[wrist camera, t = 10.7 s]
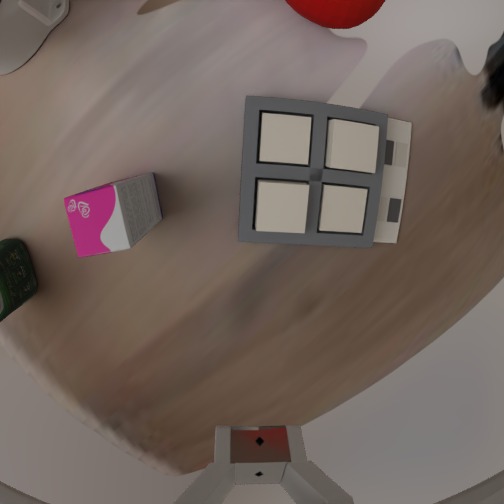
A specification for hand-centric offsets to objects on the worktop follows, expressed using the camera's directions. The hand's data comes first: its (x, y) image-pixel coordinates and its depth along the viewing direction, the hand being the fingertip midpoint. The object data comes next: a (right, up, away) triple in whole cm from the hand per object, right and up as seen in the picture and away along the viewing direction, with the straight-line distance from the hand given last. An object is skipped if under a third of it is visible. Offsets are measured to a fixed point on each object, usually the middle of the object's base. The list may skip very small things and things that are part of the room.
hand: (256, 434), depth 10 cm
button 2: (+10, +18, +21) cm, 30 cm away
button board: (+9, +16, +25) cm, 31 cm away
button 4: (+3, +19, +23) cm, 30 cm away
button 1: (+10, +12, +25) cm, 30 cm away
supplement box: (-14, +13, +25) cm, 31 cm away
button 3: (+3, +12, +24) cm, 26 cm away
